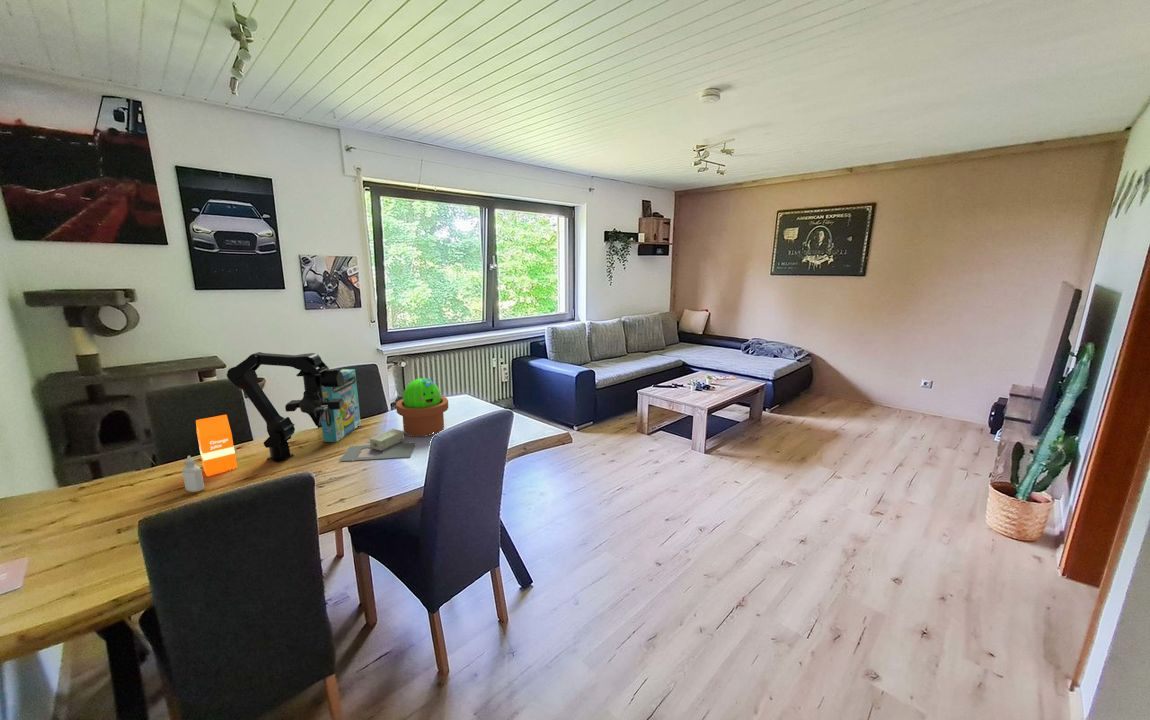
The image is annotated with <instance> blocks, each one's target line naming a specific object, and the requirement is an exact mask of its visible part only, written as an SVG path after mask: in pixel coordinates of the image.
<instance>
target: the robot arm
mask: <svg viewBox="0 0 1150 720" xmlns="http://www.w3.org/2000/svg"><path fill="white" fill-rule="evenodd" d="M261 365H262V366H263V365H264V366H279V367H290V368H293V369H295V370H299V372H298V373H297V374H296V377H302V379H303V388H304V391H303V396H302V399H294V400H293V399H292V400H290V401H289V402H287V403H286V404H285V406H284V407H285V412H287V413H288V412H296V410H297V409H299V410H300V412H301V413H303V414H307V415H309V417H310V418H311V419H312V421H313V423H314V425H315V426H316V427H319V426H321V419H322V416H323V413H324V411H325V410H326V409H328V408H329V409H330V410H335V409H340V408H341V407H342V406H343V405H344V400H343V399H342V398H337V399H332V400H330V401H329V402H324V400H325V398H324V397H323V390H324V389H323V387H322V386H324V387H342V385H343V383H344V376H343V374H342V373H341V372H340V370H341V369H340V368H334V369H330V368H329V367H328V365H327V364H326V363H325V362H324V361H323V360H322V358H321V356H320V355H319V353H315V352H311V353H301V354H294V355H293V354H283V353H282V354H280V353H270V352H269V353H267V352H260V351H259V352H255V353H252V354H250V355H248V357H246V359H244V360H242V361H241V362H240V363H238V364H237V365H235V366H233V367H230V368H228V370H227V372H226V377H227V379H228V381H229V382H231V383H232V384H233V386H235V387H236V388H238V389H241V390H242V391H243V392H244V393H245V394H246V396H247V397H248V399H249V400H250V402H251V403H252V405H253V406H254V407H255V409H256V410H257V411H258V413H259V415H260V416H261V417H262V419H263V420H264V422H265V424H266V432H267V433H268V437H267V438H266V439H265V440H264V441H263V442H262V443H263V445H264V447H265V448H268V449H269V455H270V457H267V458H266V461H270V462H276V463H281V462H282V461H286V460H287V459H289V458H292V457H294V456H295V455H294V454H293V453H291V451H290V450H291V449H290V445H289V442H288V441H289V440H291V439H292V436H293V435H294V433H295V430H296V428H295V423H293V422H292V420H291V418H290V417H289V416H286V417H284V416H282V415H280V413H279V412H278V411H277V409H276V408H275V406H274V405H273V404H272V402H271V400H270V399H269V398H268V396H267V395H266V393H265V392H264V391H263V388H262V387H261V386H260V385H259V380H258V379H259V378H258V375H257V372H256V371H257V370H258V369H259V368H260V367H261Z"/></svg>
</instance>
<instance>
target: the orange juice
mask: <svg viewBox="0 0 1150 720" xmlns="http://www.w3.org/2000/svg"><path fill="white" fill-rule="evenodd" d="M195 425H196V435H197V441H198V447H199V453H200V456H201V462H202V469H203V472H204V473H205V475H206V476H207V477H210V476H213V475H216V474H221V473H224V472H225V473H226V472H229V471H232V470H231V469H233V470H236V469H238V465H237V464H238V463H237V458H236V451H235V446H234V441H233V434H232V430H231V427H230V423H229V418H228V415H227V414H222V415H217V416H212V417H205V418H199V419H196V420H195ZM235 468H236V469H235ZM228 470H229V471H228Z"/></svg>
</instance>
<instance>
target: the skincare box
mask: <svg viewBox="0 0 1150 720" xmlns="http://www.w3.org/2000/svg"><path fill="white" fill-rule="evenodd" d="M404 435H405V434H404V430H403V431H402V430H401V429H400V430H399V429H394V428H392V429H389V430H387V431H385V432H382V433H380V434H378V435H375V436H374V437H371V438H369V443H370V444H369V445H371V448H370V449H372V450H377V451H382V452H383V451H384V449H386V448H388V447H390V446H392V445H395V444H398V443H402V442H403V441H404V440H405V436H404Z"/></svg>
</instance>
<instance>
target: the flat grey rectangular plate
mask: <svg viewBox="0 0 1150 720" xmlns="http://www.w3.org/2000/svg"><path fill="white" fill-rule="evenodd" d="M415 444H417V442H403V443H402V442H399V443H397V444H395V445H392V446H390V447H388V448H386V449H384V450H382V453H381V454H380V455H375V456H373V455H371V456H359V455H360V454H359V453H361V452H362V451H363V449H362V448H368V449H372V448H371V445H370V444H368V445H350V446H349V447H348V448H347V450H346V451H345V452H344V454H343V455H342V456H341V457H340V458H339V460H338V462H339V461H348V462H353V461H352V460H364V461H376V460H392V459H393V460H394V459H405V458H406V459H410V458H411V456H412V455H411V454H413V452H414V449H415V448H416V445H415ZM361 450H362V451H361ZM360 451H361V452H360ZM358 454H359V455H358Z"/></svg>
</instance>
